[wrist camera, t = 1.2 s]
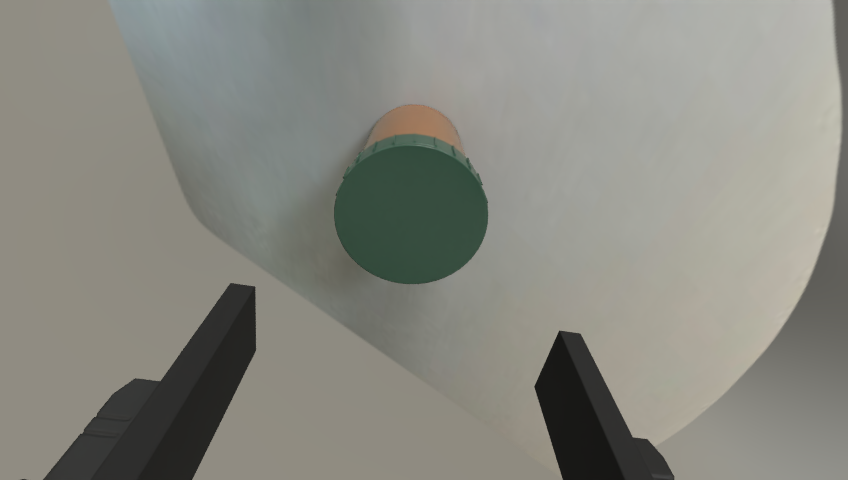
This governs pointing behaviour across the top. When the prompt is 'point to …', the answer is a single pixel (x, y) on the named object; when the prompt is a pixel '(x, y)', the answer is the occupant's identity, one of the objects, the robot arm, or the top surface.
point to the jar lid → (411, 209)
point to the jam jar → (415, 125)
